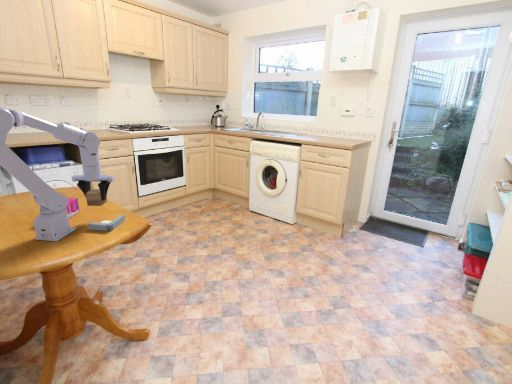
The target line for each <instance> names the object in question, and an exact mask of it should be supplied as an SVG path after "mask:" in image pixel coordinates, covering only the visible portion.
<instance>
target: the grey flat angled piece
mask: <svg viewBox="0 0 512 384" xmlns="http://www.w3.org/2000/svg"><path fill="white" fill-rule="evenodd" d="M124 220H125V221H126V216H125V215H124V214H119V216H117V217H116V218H115V219H113V220H102V221H101V222H93V221H90V222H89V223H87V228H88V230H92V231H105V232H112V231H113V230H114V229H116V228H117V227H119V225H121V224H123V223H124V222H125V221H124ZM123 221H124V222H123Z"/></svg>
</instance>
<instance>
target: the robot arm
mask: <svg viewBox="0 0 512 384" xmlns="http://www.w3.org/2000/svg"><path fill="white" fill-rule="evenodd" d="M24 126H25V127H29V128H32V129H37V130H38V131H43V132H46V133H50V134H52V136H53V137H54V138H55V139H56V140H59V141H62V142H65V143H69V144H73V145H76V146H77V147H78V149H79V154H80V160H81V167H82V173H83V174H80V175H78V174H77V175H76V174H74V175H72V176H71V181H72V182H75V183H76V186H77V187H78V188H79V189H80V191H81V192H82V193H83V195H84V197H85V198H86V193H87V192H88V191H90V190H91V182H99V183H97V186H98V189H100V192H101V198H102V201H104V200H106V198H107V199H108V197H107V196H108V190H109V188H110V185H111V183H115V181H116V180H115V176H114V175H107V174H102V168H101V167H102V166H101V160H100V155H99V154H100V153H99V146H100V145H101V139H100V138H99V136H98V135H97V134H96V133H95V132H90V131H85V128H83V127H80V128H79V127H77V126H73V125H71V123H70V122H67V121H64V122H58V123H53V122H50V121H47V120H45V119H42V118H40V117H36V116H33V115H31V114H28V113H25V112H23V111H18V110H15V109H14V110H13V109H9V108H5V107H2V106H0V167H2V168H3V169H4V170H5V171H6V172H7V173H8V174H10V175H11V176H12V177H13V178H14V179H15V180H16V181H17V182H18V183H20V184H21V185H22V186H23V187H24V188H25V189H26V190H28V191H29V194H30V195H31V196H32V197H33V199H34V202H35V203H36V204H37V205H38V206H39V214H38V215H37V216H36V217H34V219H33V222H32V223H33V227H34V232H35V236H36V237H34V239H35V240H37V241H46V242H47V241H50V242H57V241H60V240H61V239H63V238H64V237H66V236H68V235H69V234H71V233H73V232H74V231H77V227H72V226H70V221H69V219H68V215H67V210H66V206H67V204H68V199H67V198H68V197H67V196H66V195H65V194H63V193H60V192H58V191H56V190H55V189H54V188H53V187H51V186H50V185H49V184H47V183H46V182H45V181H44V180H43V179H42V178H41V177H40V176H39V175H38V174H37V173H36V172H35V171H34V170H33V169H32V168H31V167H30V166H28V164H27V163H26V162H25V161H24V160H22V159H21V157H19V156H18V155H17V154H16V153H15V152H14V151H13V150H12V149H11V148H10V147H9V146H8V145H6V140H7V135H8V134H9V133H10V131H11V130H12V129H13V127H15V128H18V127H24Z"/></svg>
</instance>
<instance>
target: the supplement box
mask: <svg viewBox="0 0 512 384" xmlns="http://www.w3.org/2000/svg"><path fill="white" fill-rule="evenodd" d="M67 199H68V204H67V206H66V210H67V215H68V220H69V219H70V218H72V217H73V216H75V215H76V214H78V213H79V212H80V211H81V210H80V206H79V198H72V197H71V198H70V197H69V198H68V197H67Z"/></svg>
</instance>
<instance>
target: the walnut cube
mask: <svg viewBox="0 0 512 384" xmlns="http://www.w3.org/2000/svg"><path fill="white" fill-rule="evenodd" d="M85 200H86V204H87V206H89V207H90V206H91V207H94V206H95V207H103V205H104V204H106V203H107V202H108V197H107V198H106V200H104V201H102V198H101V192H100V189H99V188H90V191H88V192H87V193H86V197H85Z"/></svg>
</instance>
